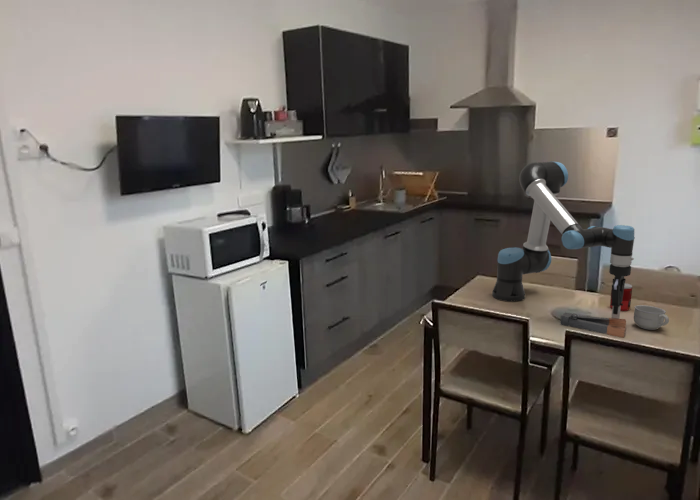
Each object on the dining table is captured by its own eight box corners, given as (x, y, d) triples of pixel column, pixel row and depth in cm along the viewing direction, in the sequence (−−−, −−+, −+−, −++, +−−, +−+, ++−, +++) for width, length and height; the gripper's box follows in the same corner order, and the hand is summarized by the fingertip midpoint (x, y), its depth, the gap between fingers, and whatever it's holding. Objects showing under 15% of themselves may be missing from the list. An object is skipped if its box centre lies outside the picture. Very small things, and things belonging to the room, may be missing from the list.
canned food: (632, 311, 221) (635, 287, 219) (612, 310, 223) (615, 286, 221) (626, 306, 229) (629, 282, 226) (607, 305, 230) (609, 282, 228)
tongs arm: (571, 325, 207) (571, 315, 206) (570, 322, 210) (570, 312, 209) (626, 330, 201) (627, 319, 200) (624, 326, 204) (625, 316, 203)
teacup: (626, 323, 209) (628, 304, 207) (651, 321, 209) (653, 303, 208) (649, 336, 195) (651, 316, 193) (675, 334, 196) (678, 314, 194)
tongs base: (560, 324, 208) (560, 315, 207) (564, 320, 212) (565, 312, 211) (623, 337, 193) (624, 328, 193) (626, 333, 198) (627, 324, 197)
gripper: (627, 269, 193) (621, 327, 199) (634, 262, 203) (628, 318, 208) (606, 266, 198) (601, 323, 203) (614, 260, 208) (608, 314, 213)
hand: (615, 320), depth 206 cm, fingers closed
